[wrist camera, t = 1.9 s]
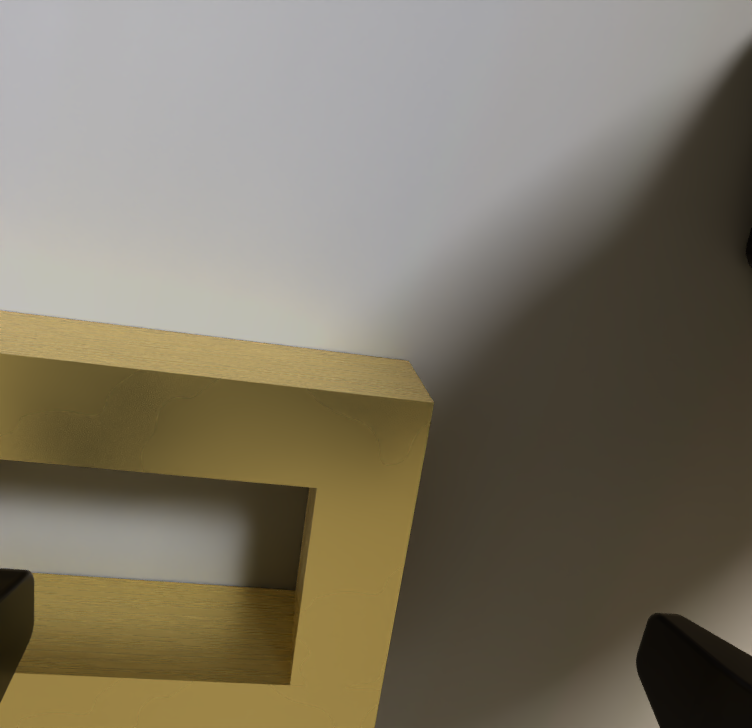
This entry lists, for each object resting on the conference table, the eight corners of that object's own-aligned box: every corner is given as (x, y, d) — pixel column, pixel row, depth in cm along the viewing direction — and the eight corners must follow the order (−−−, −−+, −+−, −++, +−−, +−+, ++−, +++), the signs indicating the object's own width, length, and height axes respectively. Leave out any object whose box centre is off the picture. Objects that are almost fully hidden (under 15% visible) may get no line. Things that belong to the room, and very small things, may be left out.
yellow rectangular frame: (408, 361, 11) (434, 402, 8) (358, 656, 12) (368, 761, 10) (-200, 285, 9) (-373, 310, 7) (-168, 629, 11) (-300, 743, 8)
